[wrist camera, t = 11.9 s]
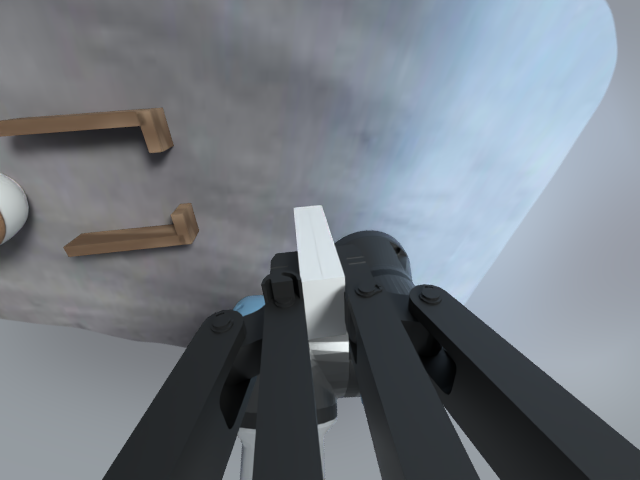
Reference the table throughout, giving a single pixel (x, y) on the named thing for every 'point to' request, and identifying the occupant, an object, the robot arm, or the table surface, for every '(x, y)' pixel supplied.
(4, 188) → the lidded jar
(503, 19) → the table surface
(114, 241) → the cradle
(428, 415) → the robot arm
